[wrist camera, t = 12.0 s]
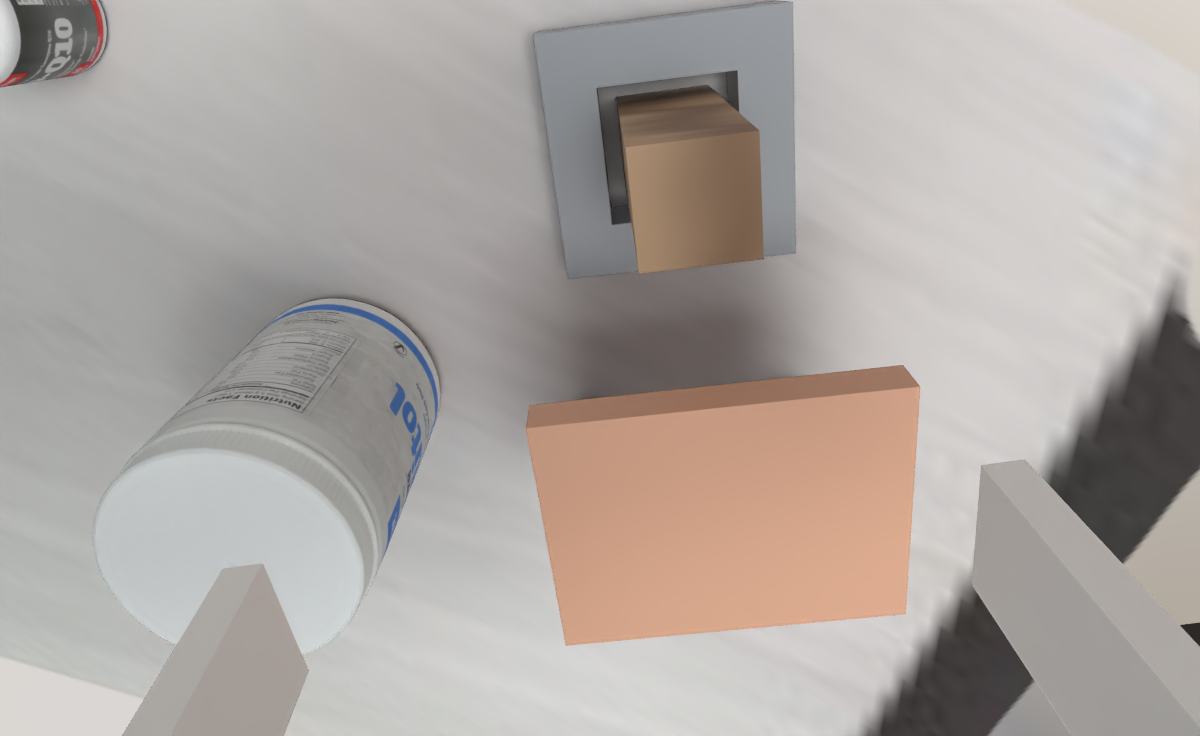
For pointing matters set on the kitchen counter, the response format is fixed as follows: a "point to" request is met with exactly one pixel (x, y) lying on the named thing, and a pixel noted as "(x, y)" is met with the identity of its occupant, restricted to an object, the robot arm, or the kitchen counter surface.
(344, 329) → the supplement tub
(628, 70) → the socket block
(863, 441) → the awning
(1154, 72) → the kitchen counter surface
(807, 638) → the kitchen counter surface
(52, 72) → the pill bottle
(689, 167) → the peg
